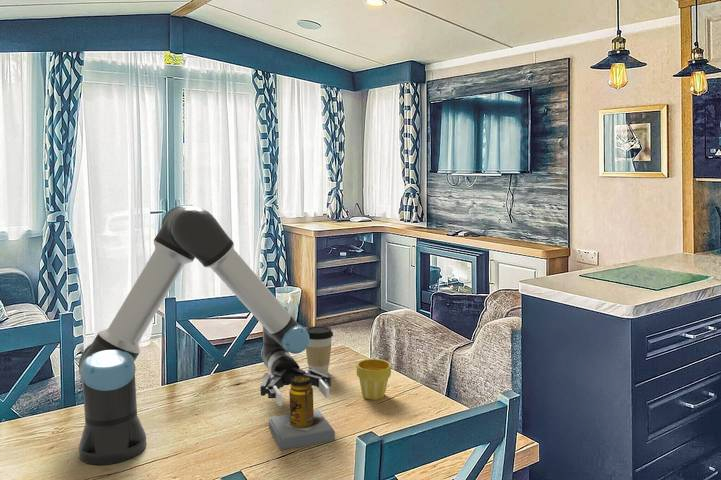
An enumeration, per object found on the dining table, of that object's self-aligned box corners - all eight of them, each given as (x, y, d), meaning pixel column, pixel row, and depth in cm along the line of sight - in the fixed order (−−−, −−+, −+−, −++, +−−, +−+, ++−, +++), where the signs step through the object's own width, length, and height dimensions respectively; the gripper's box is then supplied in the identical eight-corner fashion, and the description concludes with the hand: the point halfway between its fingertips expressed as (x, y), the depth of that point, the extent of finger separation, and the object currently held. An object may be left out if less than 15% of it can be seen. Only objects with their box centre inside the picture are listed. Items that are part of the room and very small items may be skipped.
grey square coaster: (280, 450, 142) (280, 438, 142) (269, 427, 154) (268, 416, 154) (334, 440, 147) (334, 429, 147) (319, 419, 159) (319, 408, 159)
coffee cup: (335, 368, 199) (335, 325, 197) (331, 379, 189) (330, 334, 187) (306, 367, 200) (306, 325, 198) (301, 378, 190) (300, 333, 188)
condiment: (283, 426, 148) (282, 381, 147) (300, 413, 156) (300, 370, 154) (307, 432, 145) (307, 385, 144) (324, 418, 153) (324, 374, 151)
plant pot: (397, 393, 177) (397, 362, 176) (379, 405, 168) (379, 372, 167) (368, 386, 183) (368, 356, 181) (349, 397, 174) (349, 365, 173)
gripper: (324, 375, 171) (349, 403, 150) (242, 386, 162) (257, 418, 142) (323, 350, 170) (349, 376, 149) (241, 360, 161) (256, 389, 141)
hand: (304, 396), depth 146 cm, fingers open, 11 cm apart
